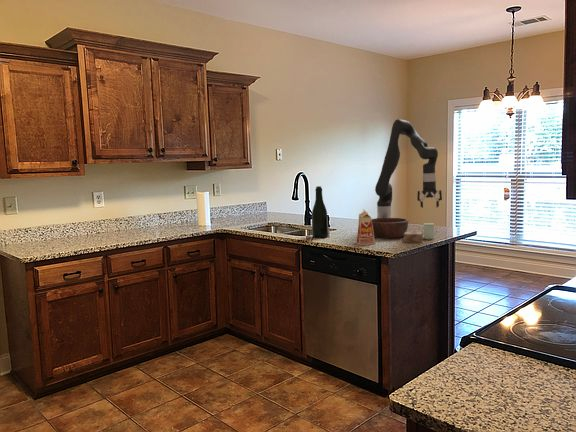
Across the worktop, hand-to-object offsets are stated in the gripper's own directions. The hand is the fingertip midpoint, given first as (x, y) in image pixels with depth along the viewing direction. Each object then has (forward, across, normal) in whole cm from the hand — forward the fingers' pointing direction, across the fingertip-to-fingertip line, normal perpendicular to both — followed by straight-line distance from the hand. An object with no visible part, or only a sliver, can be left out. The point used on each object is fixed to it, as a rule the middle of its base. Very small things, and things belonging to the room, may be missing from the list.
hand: (429, 207), depth 291 cm
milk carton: (+18, -37, -21) cm, 46 cm away
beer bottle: (+18, -69, +1) cm, 71 cm away
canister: (+19, -1, 0) cm, 19 cm away
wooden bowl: (+19, -26, +7) cm, 32 cm away
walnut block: (+19, -10, -10) cm, 24 cm away
